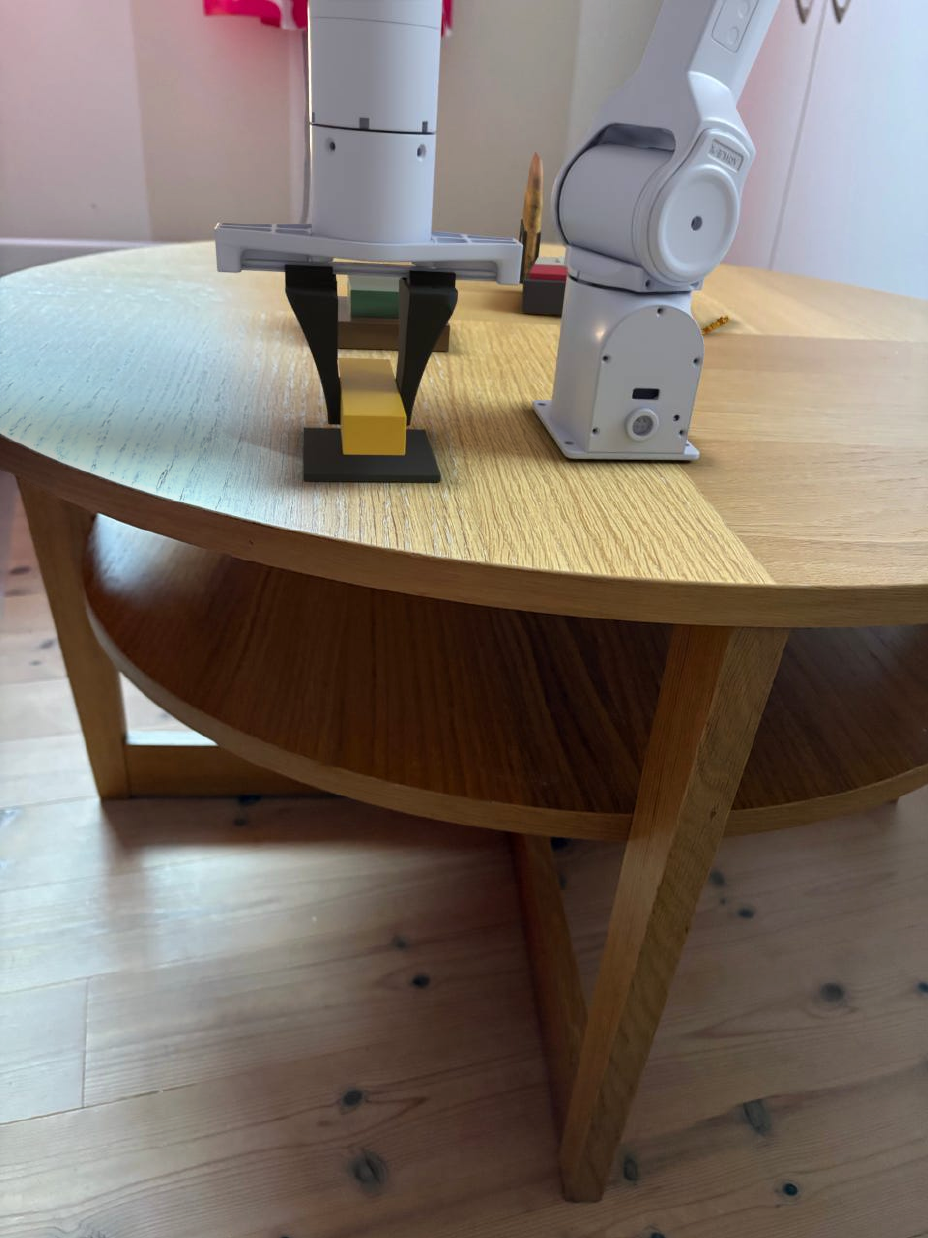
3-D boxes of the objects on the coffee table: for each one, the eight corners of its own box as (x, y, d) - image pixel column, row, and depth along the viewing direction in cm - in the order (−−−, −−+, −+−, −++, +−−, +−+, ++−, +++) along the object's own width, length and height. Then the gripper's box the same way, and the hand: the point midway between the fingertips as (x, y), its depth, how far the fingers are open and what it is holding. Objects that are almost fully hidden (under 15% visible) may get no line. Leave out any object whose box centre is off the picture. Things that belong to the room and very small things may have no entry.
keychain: (720, 323, 86) (722, 312, 85) (731, 325, 85) (733, 314, 85) (693, 336, 80) (696, 325, 79) (705, 339, 80) (707, 327, 79)
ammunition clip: (516, 265, 104) (527, 150, 98) (532, 266, 104) (544, 151, 98) (518, 282, 95) (530, 157, 89) (535, 283, 95) (549, 158, 89)
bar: (405, 455, 43) (406, 415, 42) (343, 454, 43) (343, 414, 42) (389, 393, 52) (389, 358, 51) (337, 392, 51) (336, 357, 50)
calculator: (533, 252, 90) (685, 259, 88) (531, 297, 92) (678, 304, 90) (522, 270, 80) (691, 278, 78) (520, 320, 82) (685, 328, 81)
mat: (440, 482, 46) (440, 475, 46) (303, 481, 45) (303, 473, 45) (425, 435, 52) (425, 429, 52) (303, 433, 51) (303, 426, 50)
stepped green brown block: (448, 351, 68) (452, 297, 66) (331, 348, 67) (330, 292, 65) (434, 323, 76) (437, 274, 74) (328, 320, 75) (328, 269, 73)
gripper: (512, 135, 45) (489, 399, 52) (216, 113, 42) (234, 392, 49) (543, 144, 39) (513, 441, 46) (201, 119, 36) (224, 436, 43)
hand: (368, 419), depth 47 cm, fingers closed on bar, 3 cm apart
